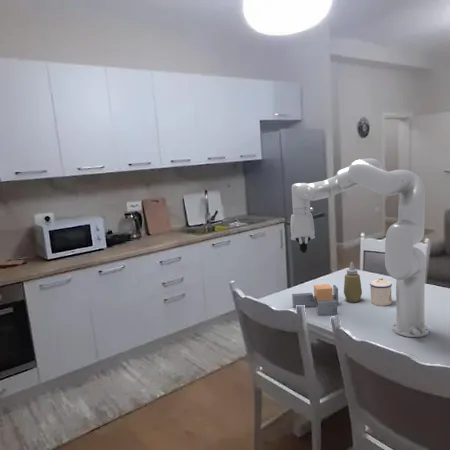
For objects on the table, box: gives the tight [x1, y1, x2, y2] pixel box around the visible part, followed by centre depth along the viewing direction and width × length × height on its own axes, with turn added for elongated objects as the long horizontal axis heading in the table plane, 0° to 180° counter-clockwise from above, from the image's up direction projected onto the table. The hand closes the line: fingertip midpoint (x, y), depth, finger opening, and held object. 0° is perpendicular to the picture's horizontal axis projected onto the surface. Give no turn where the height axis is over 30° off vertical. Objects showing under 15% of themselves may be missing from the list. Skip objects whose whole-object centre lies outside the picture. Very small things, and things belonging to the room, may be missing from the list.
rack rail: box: [291, 284, 340, 309], centre depth 189 cm, size 10×20×8 cm, turn 89°
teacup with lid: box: [369, 276, 393, 307], centre depth 185 cm, size 12×9×12 cm
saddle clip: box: [313, 283, 333, 301], centre depth 188 cm, size 6×7×7 cm
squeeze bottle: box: [343, 261, 363, 303], centre depth 189 cm, size 8×8×18 cm
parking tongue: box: [316, 300, 338, 316], centre depth 176 cm, size 3×8×6 cm, turn 89°
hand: (303, 251), depth 184 cm, fingers closed
